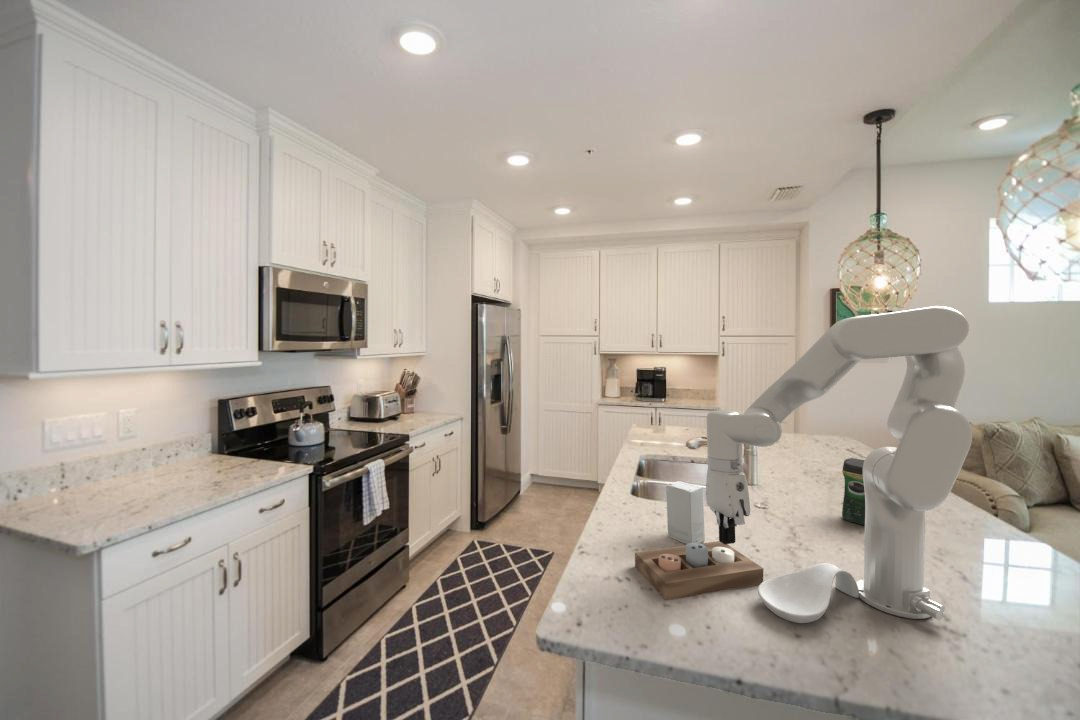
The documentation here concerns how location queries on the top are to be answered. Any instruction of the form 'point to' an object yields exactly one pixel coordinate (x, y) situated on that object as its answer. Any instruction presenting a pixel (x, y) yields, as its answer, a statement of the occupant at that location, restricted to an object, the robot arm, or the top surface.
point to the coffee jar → (854, 491)
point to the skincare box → (685, 512)
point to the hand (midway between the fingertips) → (727, 542)
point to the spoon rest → (805, 592)
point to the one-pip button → (722, 555)
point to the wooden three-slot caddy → (697, 572)
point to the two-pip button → (696, 555)
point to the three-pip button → (669, 562)
